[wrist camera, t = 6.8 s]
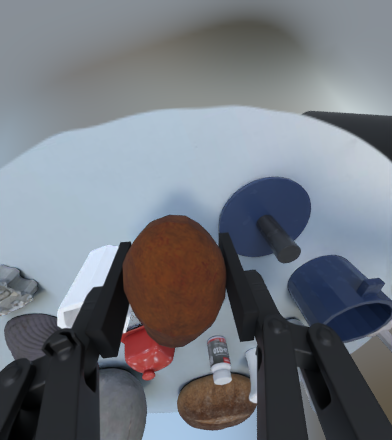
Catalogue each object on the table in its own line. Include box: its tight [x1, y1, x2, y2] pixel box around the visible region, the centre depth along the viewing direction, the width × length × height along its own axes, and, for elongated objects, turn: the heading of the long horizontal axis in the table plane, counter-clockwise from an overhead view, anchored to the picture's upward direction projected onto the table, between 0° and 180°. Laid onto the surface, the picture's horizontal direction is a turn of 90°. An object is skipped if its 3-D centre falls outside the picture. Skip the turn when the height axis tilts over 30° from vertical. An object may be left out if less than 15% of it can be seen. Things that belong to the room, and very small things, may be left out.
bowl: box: [99, 368, 147, 440], centre depth 45 cm, size 20×20×15 cm
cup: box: [245, 348, 257, 403], centre depth 50 cm, size 9×9×10 cm
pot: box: [288, 255, 392, 343], centre depth 34 cm, size 13×18×10 cm
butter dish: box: [121, 326, 175, 380], centre depth 40 cm, size 12×12×8 cm
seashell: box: [4, 314, 62, 361], centre depth 38 cm, size 14×19×8 cm
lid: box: [219, 177, 311, 263], centre depth 26 cm, size 14×14×8 cm
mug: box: [57, 245, 132, 333], centre depth 28 cm, size 12×9×10 cm
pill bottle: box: [207, 336, 232, 385], centre depth 45 cm, size 5×5×8 cm
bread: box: [177, 373, 257, 430], centre depth 61 cm, size 26×27×10 cm
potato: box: [122, 215, 226, 348], centre depth 13 cm, size 7×9×6 cm
